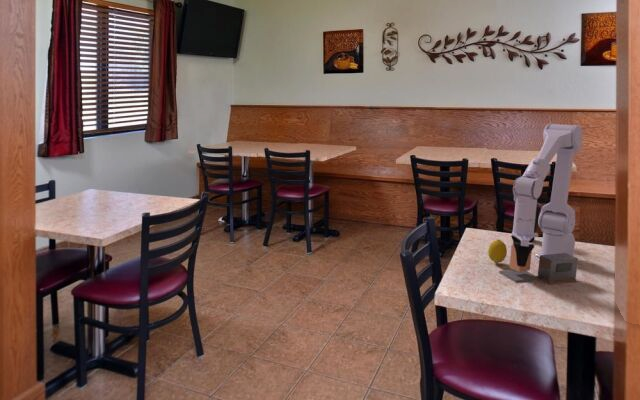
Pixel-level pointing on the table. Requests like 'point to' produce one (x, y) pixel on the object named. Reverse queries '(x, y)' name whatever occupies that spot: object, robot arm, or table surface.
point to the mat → (519, 275)
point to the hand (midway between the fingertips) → (520, 262)
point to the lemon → (497, 251)
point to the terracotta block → (514, 261)
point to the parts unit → (557, 268)
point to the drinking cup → (536, 218)
